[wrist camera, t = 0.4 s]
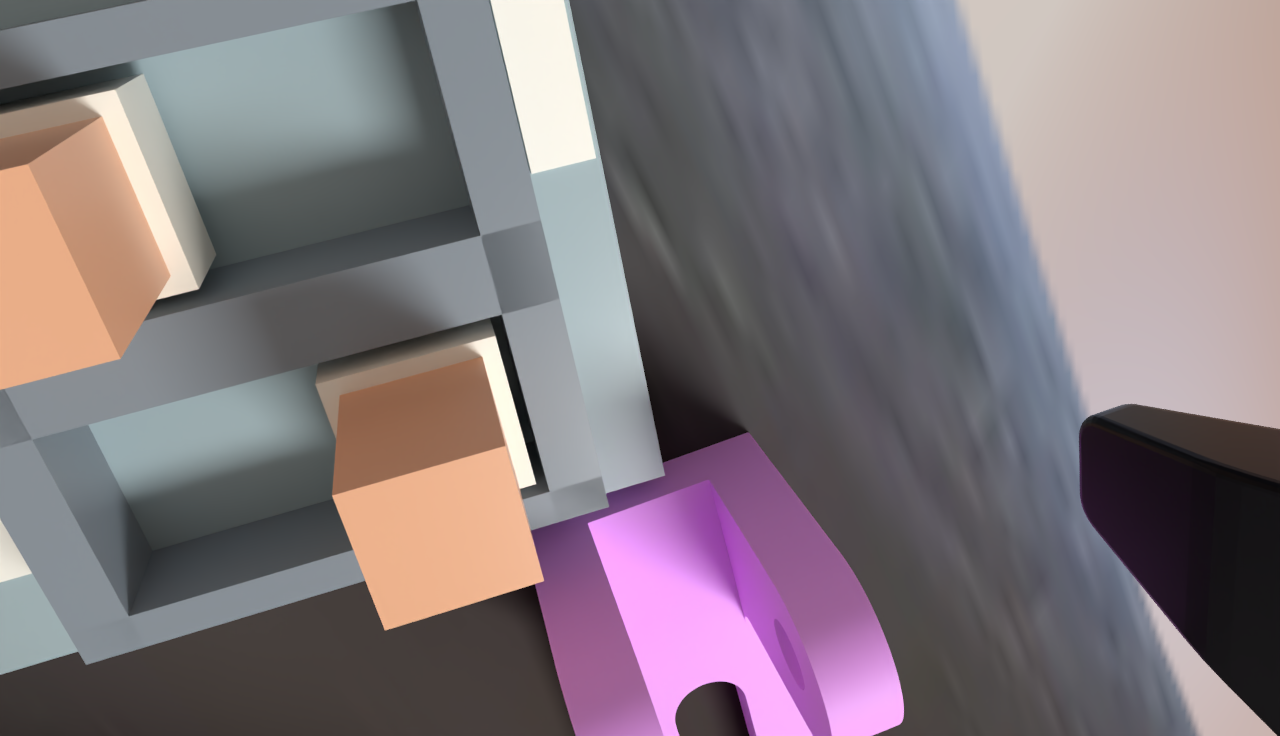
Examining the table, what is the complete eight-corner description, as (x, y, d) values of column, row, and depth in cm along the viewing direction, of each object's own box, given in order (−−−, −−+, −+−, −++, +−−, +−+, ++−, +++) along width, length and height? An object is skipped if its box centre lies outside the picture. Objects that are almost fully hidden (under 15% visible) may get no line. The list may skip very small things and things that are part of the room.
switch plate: (650, 449, 21) (692, 526, 19) (-4, 641, 19) (-68, 761, 17) (527, -148, 16) (559, -167, 13) (-390, 32, 14) (-584, 55, 11)
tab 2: (522, 437, 19) (567, 590, 14) (371, 481, 18) (371, 652, 14) (484, 300, 18) (521, 421, 13) (321, 343, 17) (301, 483, 13)
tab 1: (215, 254, 16) (156, 374, 12) (30, 300, 16) (-107, 443, 11) (143, 73, 15) (43, 130, 10) (-64, 118, 14) (-260, 197, 10)
